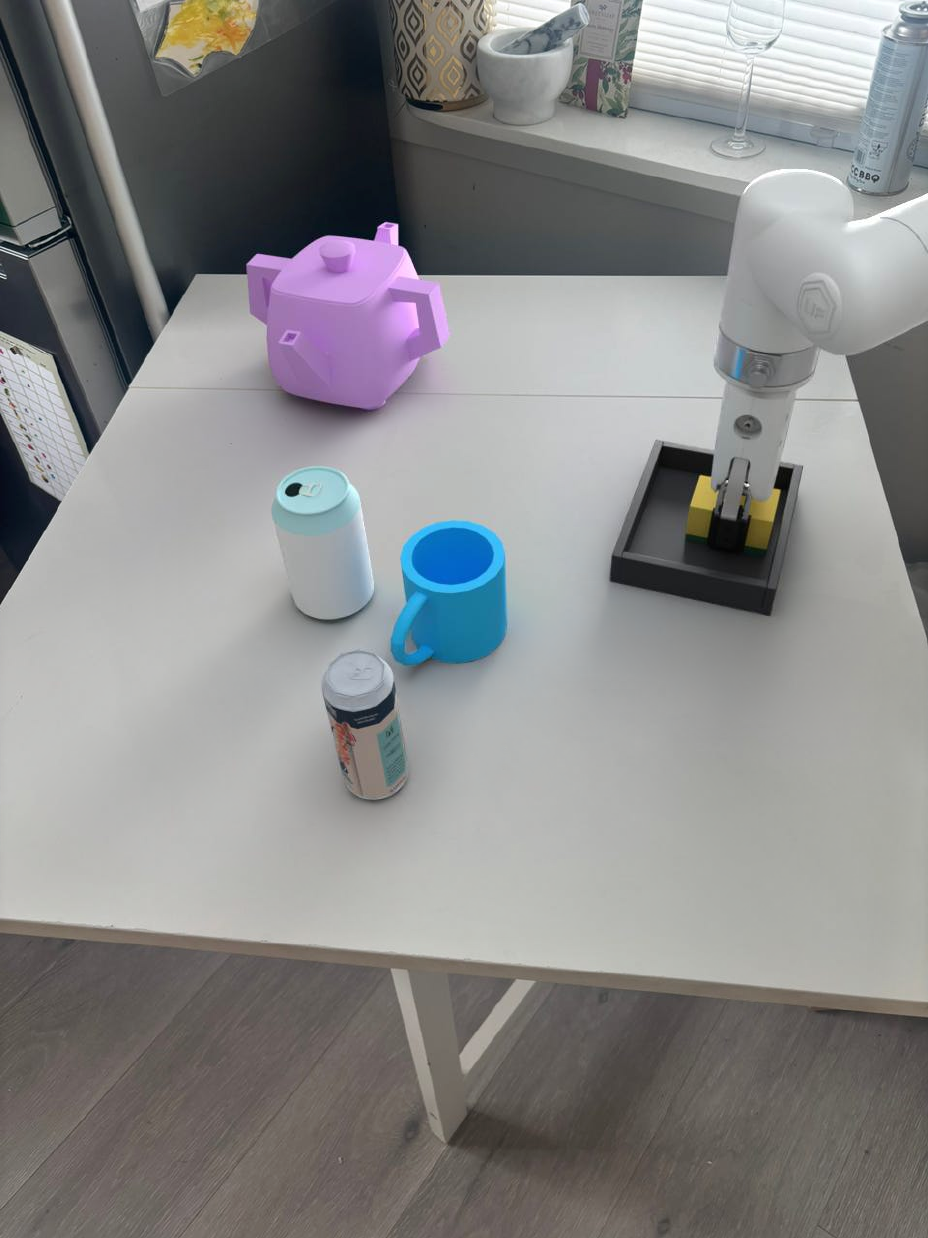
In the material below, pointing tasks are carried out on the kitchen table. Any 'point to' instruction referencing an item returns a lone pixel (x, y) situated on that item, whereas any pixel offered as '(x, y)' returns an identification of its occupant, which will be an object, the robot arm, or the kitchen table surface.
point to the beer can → (365, 724)
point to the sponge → (759, 510)
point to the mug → (451, 594)
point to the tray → (692, 569)
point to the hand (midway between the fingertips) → (730, 527)
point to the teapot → (346, 317)
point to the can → (323, 542)
